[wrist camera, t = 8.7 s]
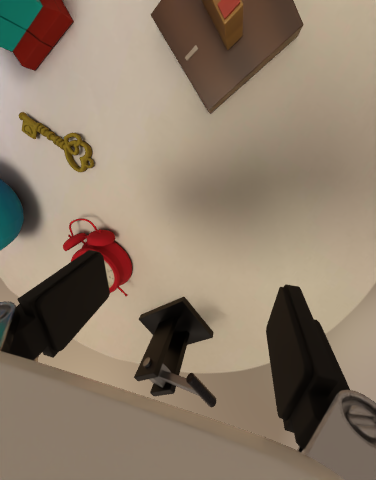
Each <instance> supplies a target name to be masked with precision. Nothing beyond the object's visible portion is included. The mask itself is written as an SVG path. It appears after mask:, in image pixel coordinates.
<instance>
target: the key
mask: <svg viewBox="0 0 376 480" xmlns="http://www.w3.org/2000/svg"><path fill="white" fill-rule="evenodd" d="M19 118H20V119H21V120H23V125H22V131H23V132H24V133H26V134H27V135H28V136H30V137H31V138H33V139H36V136H37V132H39V133H40V134H42V135H43V136H45V137H47V139H48V140H52V141H53V143H54V144H55V145H57V146H58V147H60V148H61V149H63V150H64V152H65V156H66V159H67V161H68V163H69V165H70V166H71V167H72V168H73V169H74V170H76V171H77V172H84V171H86V170H87V168H92V167H93V166H94V162H93V160H92V159H91V155H92V149H91V147H90V146H89V145H88V144H87V143H85V142H83V141H82V138H81V137H80V136H79V135H78V134H76V133H70V134H67V135H66V136H65V137H64V140H63V139H62V138H61V137H59V136H55V133H54V132H51V131H50V130H49V129H48V128H47V127H45V126H44V125H43V124H41V123H37V122H35V121H34V120H33V119H31V118H30V117H28V116H27V114H26V113H24V112H21V113H20V114H19ZM71 137H76V138H77V140H72V141H70V142H69V138H71ZM80 145H81V146H83V147H84V148H85V151H86V152H85V155H84V156H83V157H80V161H81V168H80V167H79V166H78V165H77V164H76V163H75V161H74V159H73V157H72V155H78V154H79V146H80ZM72 146H74V147H75V151H73V149H72V148H71V147H72ZM88 160H89V161H90V166H89V165H88Z"/></svg>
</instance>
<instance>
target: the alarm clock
mask: <svg viewBox="0 0 376 480" xmlns="http://www.w3.org/2000/svg"><path fill="white" fill-rule="evenodd" d="M78 220H85V221H88V222H89V223H91V224H92V226H93V227H94V228H95V230H96V231H93V232H91V233H90V234H89V235H88V236H87V235H86V234H85V233H79V234H77V235H74V236H73V233H72V230H71V225H72V223H73V222H75V221H78ZM69 229H70V232H71V235H72V237H71V236H70V235H68V236H69V237H70V238H69V239H68V240H67V241H66V242H65V243H64V245H63V249H64V250H65V251H67V250H69V249H71V248H72V247H74V246H76V245H77V244H79V243H80V242H83V243H84V245H83V247H82V249H80V250H78V251H77V252H76V253H75V254H74V256H73V257H72V259H71V262H72V261H73V260H75V259H76V258H78V257H79V256H81V255H82V254H84V253H85V252H86V251H88V250H92V251H98V252H100V253H101V255H103V257H104V263H105V268H106V274H107V279H108V285H109V290H110V293H111V292H113V291H115V290H116V289H117V288H118V289H119V290H120V291H121V292H123V293H124V294H125V296H127V294H126V293H125V292H124V291H123V290H122V289H121V288H120V287H119V286H120V285H122V284H124V283H126V282H127V281H128V280H129V278H130V277H131V274H132V264H131V261H130V258H129V256H128V255H127V253H126V252H125V251H124V250H123V249H122V247H121V246H119V245H118V244H117V243H115V242H114V241H115V235H114V234H113V233H112V232H111V231H108V230H101V229H99V230H97V228H96V227H95V225H94V224H93V223H92V222H91V221H89V220H87V219H76V220H73V221H72V222H71V223H70V225H69ZM86 238H87V242H84V241H83V240H84V239H86Z"/></svg>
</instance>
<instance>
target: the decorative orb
mask: <svg viewBox="0 0 376 480" xmlns="http://www.w3.org/2000/svg"><path fill="white" fill-rule="evenodd" d="M23 221H24V217H23V208H22V205H21V202H20V200H19V198H18V196H17V195H16V193H15V192H14V191H13V190H12V189H11V187H10V186H8V185H7V184H6V183H5V182H4V181H2V180H1V179H0V250H2V249H3V248H5V247H6V246H7V245H8V244H10V243H11V242H12V241H13V240H14V239H15V238H16V237H17V236H18V234H19V232H20V230H21V227H22V224H23Z"/></svg>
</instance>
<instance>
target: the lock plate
mask: <svg viewBox="0 0 376 480" xmlns="http://www.w3.org/2000/svg"><path fill="white" fill-rule="evenodd" d="M242 2H243V35H242V37H241V38H240V39H239V40H238V41H237V42H236V43H235V44H234V45H233V46H232V47H231V48H230V49H229V50H227V48H226V46H225V45H224V43H223V41H222V39H221V37H220V35H219V33H218V31H217V29H216V27H215V25H214V23H213V21H212V20H211V18H210V16H209V14H208V12H207V10H206V8H205V6H204V4H203V2H202V0H161V1H160V3H159V4H158V5H157V7H156V8H155V10H154V11H153V12H152V14H151V16H152V18H153V20H154V21H155V23H156V25H157V26H158V28H159V30H160V31H161V33H162V35H163V36H164V38H165V40H166V41H167V43H168V45H169V46H170V48H171V50H172V51H173V53H174V55H175V56H176V58H177V60H178V61H179V63H180V65H181V66H182V68H183V70H184V72H185V73H186V75H187V77H188V78H189V80H190V82H191V83H192V85H193V87H194V88H195V90H196V92H197V93H198V95H199V97H200V98H201V100H202V102H203V103H204V105H205V107H206V108H207V110H208V111H209V112H210V113H212V112H213V111H214V110H215V109H216V108H217V107H218V106H220V105H221V104H222V103H223V102H224V101H225V100H226V99H227V98H229V97H230V96H231V95H232V94H233V93H234V92H235V91H236V90H238V89H239V88H240V87H241V86H242V85H243V84H244V83H245V82H247V81H248V80H249V79H250V78H251V77H252V76H253V75H254V74H255V73H257V72H258V71H259V70H260V69H261V68H262V67H263V66H264V65H266V64H267V63H268V62H269V61H270V60H271V59H272V58H273V57H275V56H276V55H277V54H278V53H279V52H280V51H281V50H282V49H284V48H285V47H286V46H287V45H288V44H289V43H290V42H291V41H293V40H294V39H295V38H296V37H297V36H298V34H299V32H300V30H301V28H302V26H303V22H302V20H301V18H300V15H299V13H298V11H297V8H296V6H295V4H294V1H293V0H242Z"/></svg>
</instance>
